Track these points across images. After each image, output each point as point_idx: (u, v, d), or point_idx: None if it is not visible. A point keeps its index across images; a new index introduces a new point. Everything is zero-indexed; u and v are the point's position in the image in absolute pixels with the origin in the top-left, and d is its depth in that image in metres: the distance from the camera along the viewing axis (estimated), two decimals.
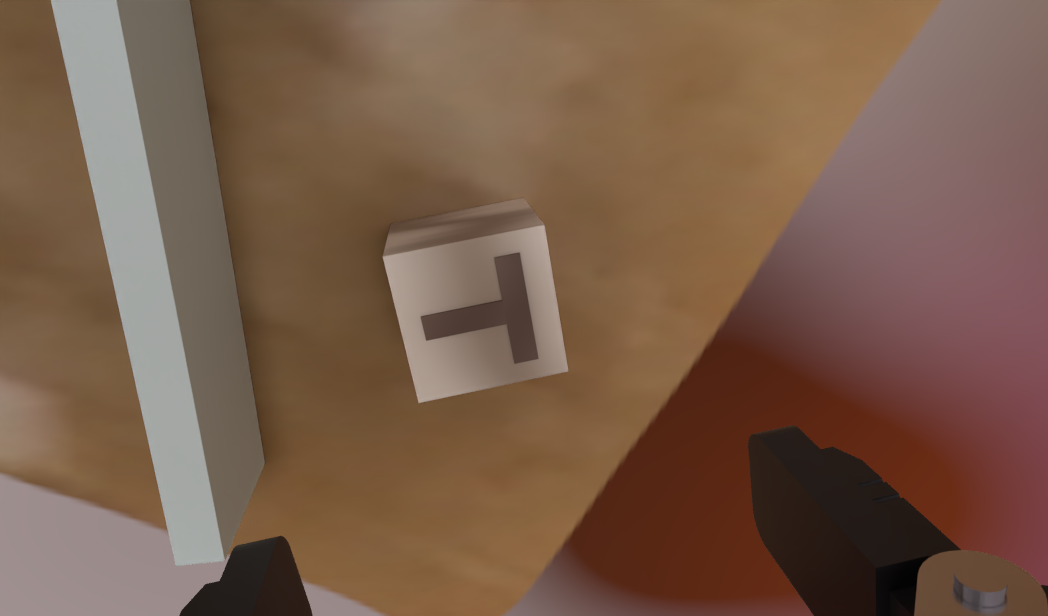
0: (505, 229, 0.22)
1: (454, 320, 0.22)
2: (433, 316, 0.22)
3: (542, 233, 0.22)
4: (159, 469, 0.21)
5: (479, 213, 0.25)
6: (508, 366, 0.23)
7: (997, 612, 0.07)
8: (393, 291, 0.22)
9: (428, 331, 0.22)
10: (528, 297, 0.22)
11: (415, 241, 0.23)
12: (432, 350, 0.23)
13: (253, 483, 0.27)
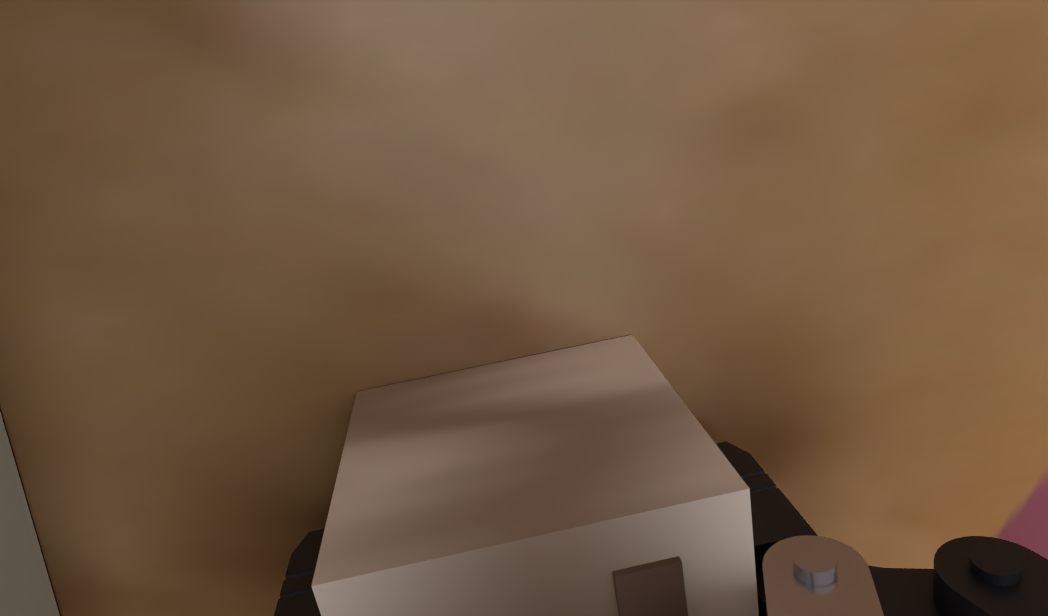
0: (638, 488, 0.08)
1: None
2: None
3: (742, 508, 0.08)
4: None
5: (548, 386, 0.11)
6: None
7: (823, 590, 0.08)
8: None
9: None
10: None
11: (403, 505, 0.09)
12: None
13: None
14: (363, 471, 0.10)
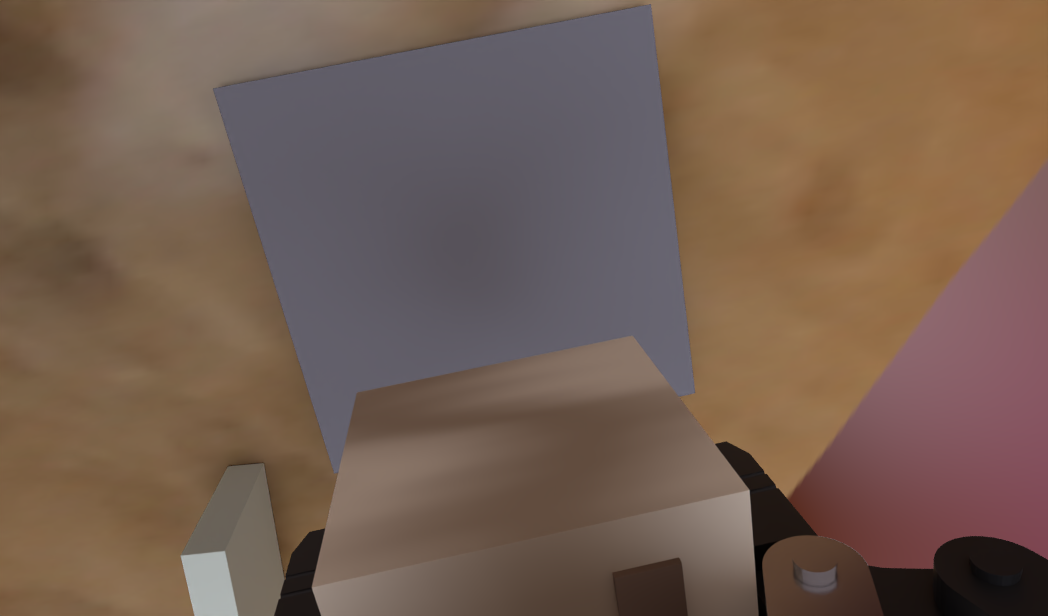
0: (638, 490, 0.08)
1: None
2: None
3: (742, 510, 0.08)
4: None
5: (548, 387, 0.11)
6: None
7: (823, 590, 0.08)
8: None
9: None
10: None
11: (404, 506, 0.09)
12: None
13: None
14: (363, 472, 0.10)
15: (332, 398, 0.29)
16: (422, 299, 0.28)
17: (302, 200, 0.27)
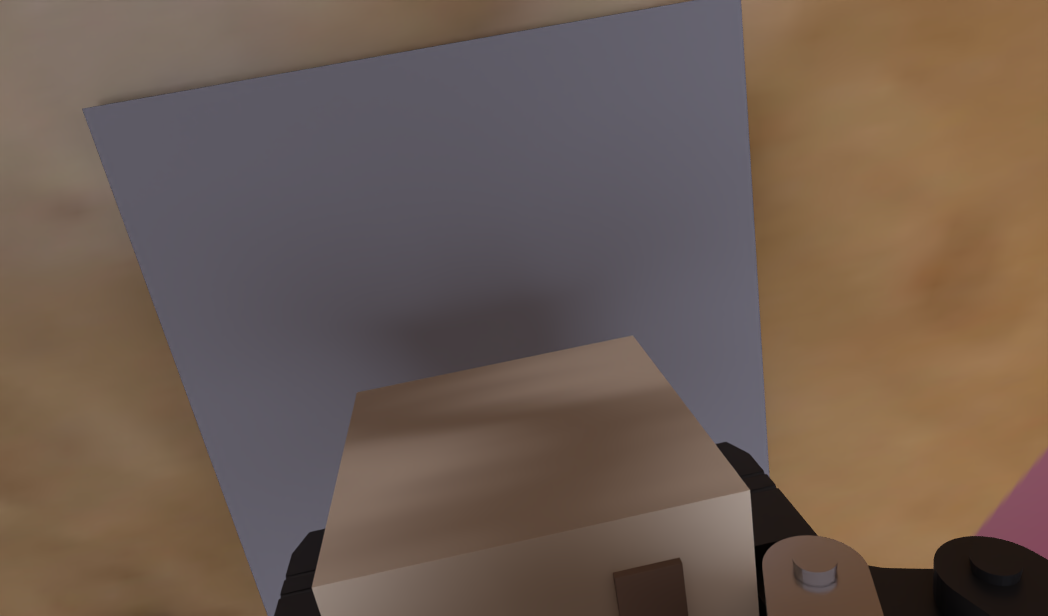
0: (639, 489, 0.08)
1: None
2: None
3: (742, 510, 0.08)
4: None
5: (548, 387, 0.11)
6: None
7: (823, 590, 0.08)
8: None
9: None
10: None
11: (404, 506, 0.09)
12: None
13: None
14: (363, 472, 0.10)
15: (272, 543, 0.21)
16: None
17: (224, 273, 0.18)
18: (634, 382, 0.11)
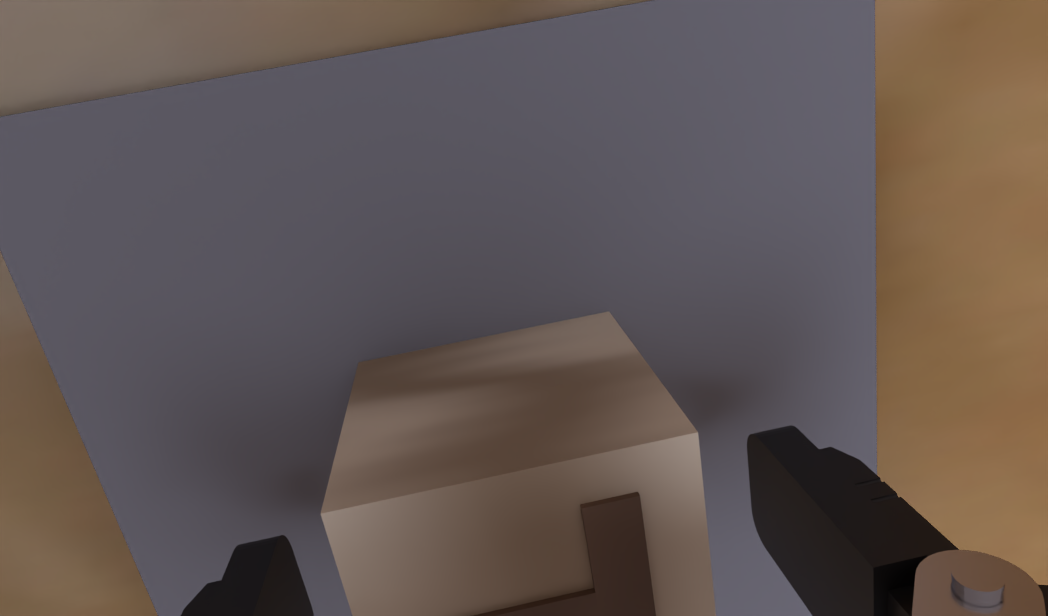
0: (603, 434, 0.10)
1: None
2: None
3: (692, 450, 0.09)
4: None
5: (530, 355, 0.13)
6: None
7: (994, 611, 0.08)
8: (347, 585, 0.09)
9: None
10: (652, 581, 0.10)
11: (400, 451, 0.10)
12: None
13: None
14: (364, 426, 0.11)
15: None
16: None
17: (158, 349, 0.13)
18: (607, 350, 0.12)
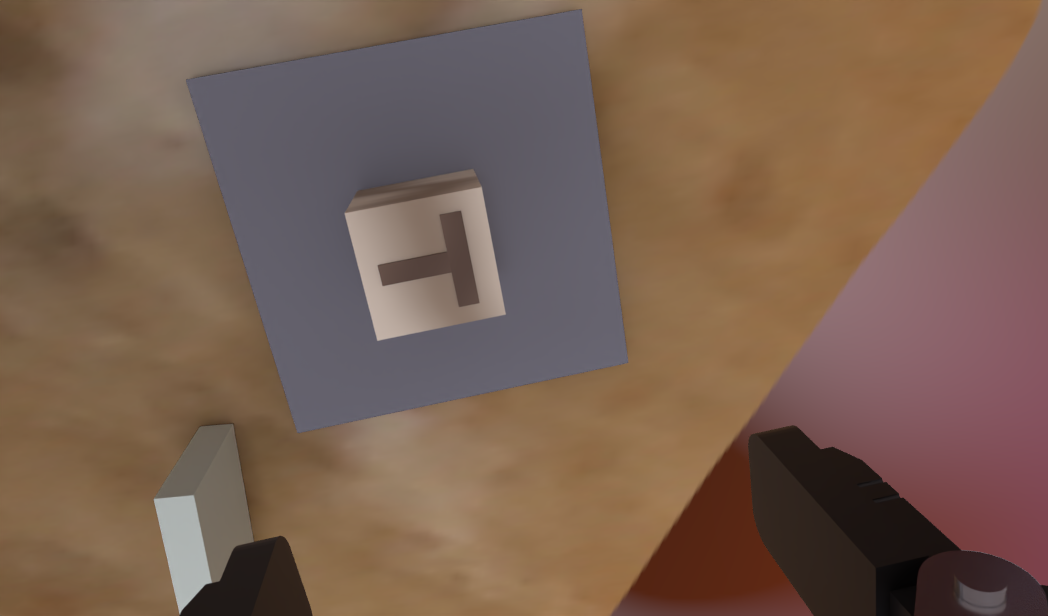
0: (449, 191, 0.26)
1: (406, 268, 0.26)
2: (388, 265, 0.26)
3: (480, 194, 0.26)
4: None
5: (432, 181, 0.29)
6: (454, 309, 0.27)
7: (997, 612, 0.07)
8: (354, 243, 0.26)
9: (384, 278, 0.26)
10: (469, 249, 0.26)
11: (374, 202, 0.27)
12: (388, 294, 0.27)
13: None
14: (360, 200, 0.28)
15: (295, 363, 0.32)
16: None
17: (267, 181, 0.30)
18: (464, 176, 0.29)
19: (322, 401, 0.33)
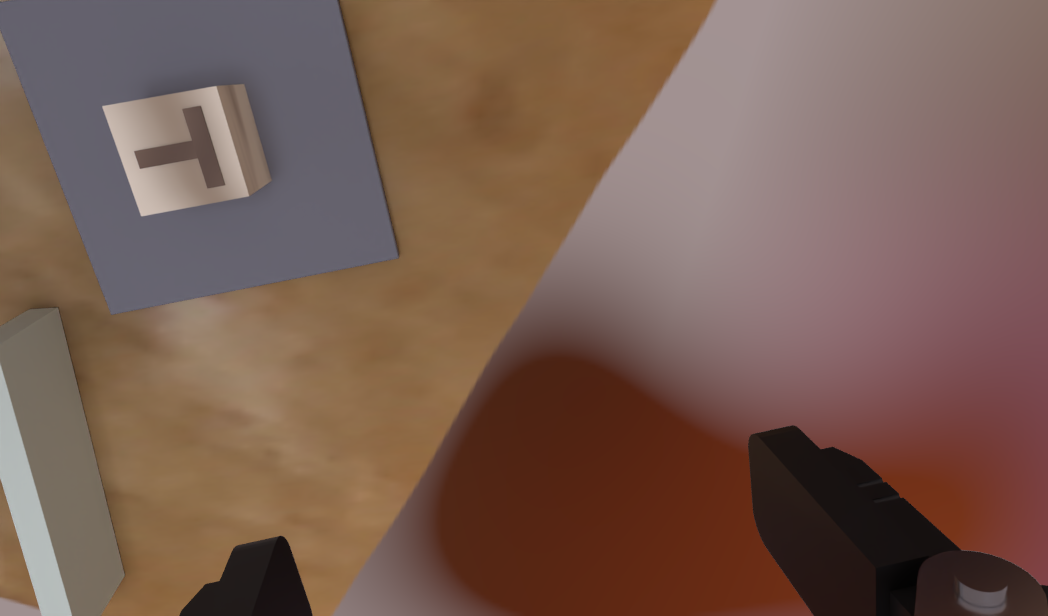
0: None
1: (158, 154, 0.32)
2: (143, 151, 0.32)
3: (215, 92, 0.32)
4: (39, 598, 0.38)
5: None
6: (204, 190, 0.33)
7: (997, 612, 0.07)
8: (112, 131, 0.32)
9: (141, 162, 0.32)
10: (211, 139, 0.32)
11: None
12: (146, 176, 0.32)
13: (112, 592, 0.43)
14: None
15: (104, 252, 0.38)
16: None
17: (67, 92, 0.35)
18: None
19: (130, 286, 0.39)
